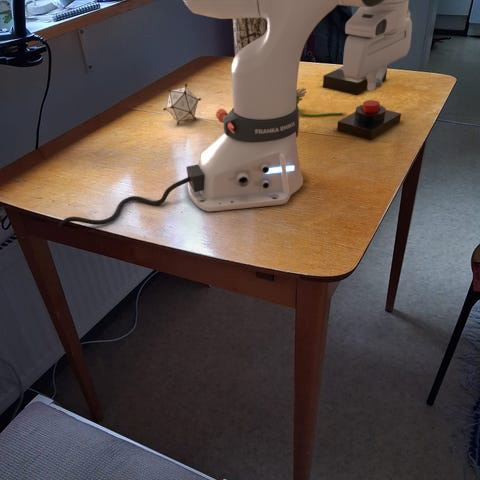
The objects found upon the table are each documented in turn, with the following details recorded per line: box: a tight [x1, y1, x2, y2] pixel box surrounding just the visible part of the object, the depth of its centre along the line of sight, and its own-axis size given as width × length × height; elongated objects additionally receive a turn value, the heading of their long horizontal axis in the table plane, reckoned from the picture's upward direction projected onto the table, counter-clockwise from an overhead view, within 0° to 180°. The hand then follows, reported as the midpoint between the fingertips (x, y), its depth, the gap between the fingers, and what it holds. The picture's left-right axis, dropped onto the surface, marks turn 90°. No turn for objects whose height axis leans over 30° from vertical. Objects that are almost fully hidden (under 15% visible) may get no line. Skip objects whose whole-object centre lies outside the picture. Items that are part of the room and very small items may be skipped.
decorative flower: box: [296, 87, 343, 117], centre depth 117 cm, size 8×6×15 cm
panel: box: [322, 66, 388, 96], centre depth 131 cm, size 14×11×3 cm
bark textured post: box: [232, 18, 267, 57], centre depth 107 cm, size 7×7×25 cm
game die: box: [162, 82, 202, 126], centre depth 117 cm, size 9×8×10 cm
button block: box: [336, 104, 402, 141], centre depth 109 cm, size 12×9×4 cm
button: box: [362, 99, 381, 113], centre depth 107 cm, size 4×4×2 cm
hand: (374, 89), depth 105 cm, fingers closed
